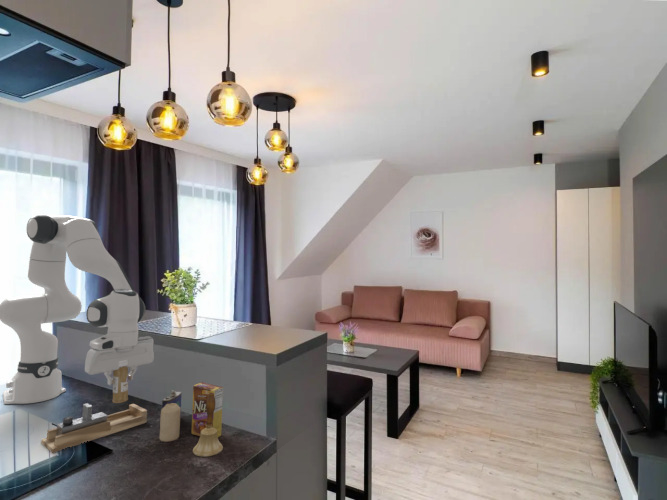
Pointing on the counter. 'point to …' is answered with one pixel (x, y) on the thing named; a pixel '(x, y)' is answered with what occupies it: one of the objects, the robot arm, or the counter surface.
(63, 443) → the guide rail
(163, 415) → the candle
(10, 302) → the robot arm
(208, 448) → the hand bell
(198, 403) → the candy box
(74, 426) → the sliding block with knob
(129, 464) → the counter surface
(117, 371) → the sprinkles bottle
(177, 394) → the flask
